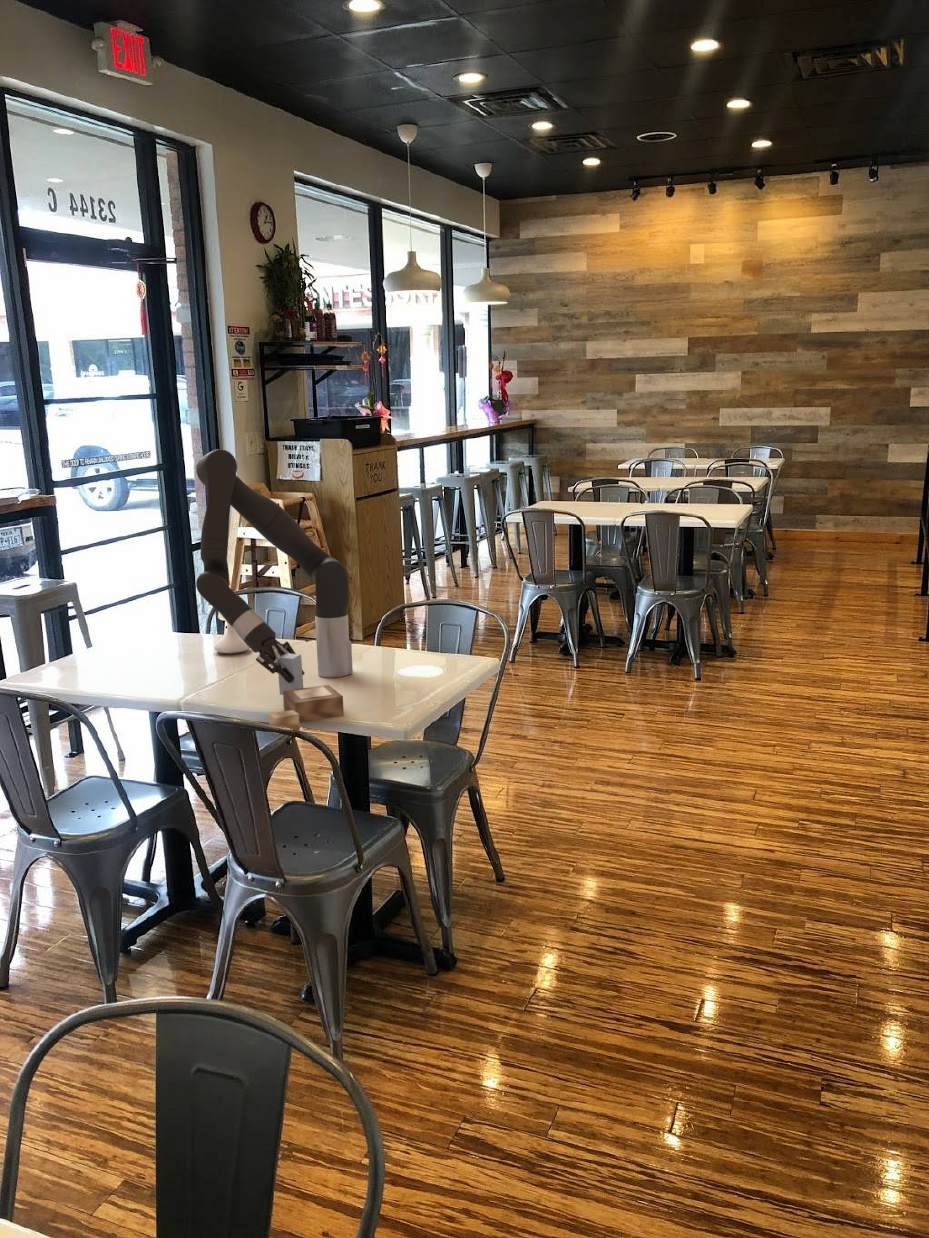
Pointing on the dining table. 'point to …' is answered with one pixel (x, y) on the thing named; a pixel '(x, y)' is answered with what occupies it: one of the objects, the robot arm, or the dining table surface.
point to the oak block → (285, 719)
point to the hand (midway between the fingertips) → (297, 678)
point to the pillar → (295, 668)
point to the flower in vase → (230, 641)
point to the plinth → (314, 702)
